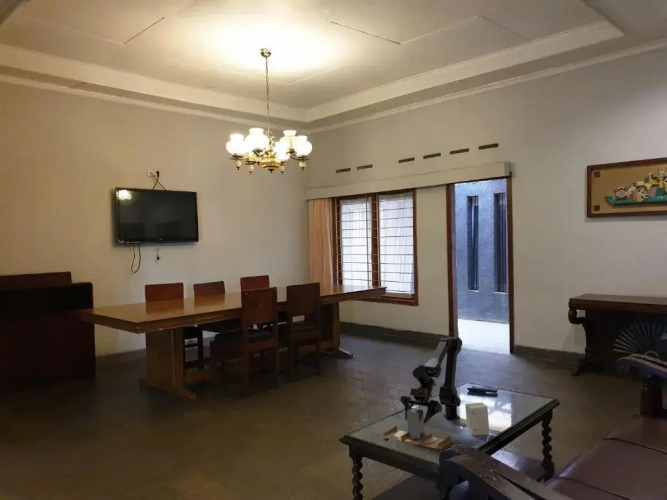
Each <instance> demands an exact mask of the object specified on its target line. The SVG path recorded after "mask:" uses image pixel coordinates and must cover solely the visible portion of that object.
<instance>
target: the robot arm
mask: <svg viewBox="0 0 667 500" xmlns="http://www.w3.org/2000/svg"><path fill="white" fill-rule="evenodd" d="M438 342H439V343H438V344H437V347H436V349H435V351H434V353H433V354H432V357H431V359H429V360H428V361H426V363H425V364H424V365H423V364H419V365H418V366H417V367H415V369H413V371H412V376H413V377H414V379H415V380H416V381H417V383H418V384H420V385H419V387H417V388H413V387H410V391H409V392H410V393H409V395H401V396H400V399H399V402H401V404H403V406H404V420H406V421H407V410H409V409H411V408H413V407H414V405H416V406H420V407H426V408H427V409H426V413H425V416H424V425H426V423H428V422H429V421H430V419H432V418H433V417H434V416H435V415H436V414H439V413H442V411H443V406H444V414H443V415H442V416H443V417H444V418H445V419H446V420H457V419H461V417H460V416H459V415H458V408H457V407H460V406H461V403H462V400H461V398H460V397H459V396H458V390H457V388H456V385H455V381H456V374H457V373H456V372H457V371H456V369H457V359H458V355H459V354H460V352H461V350H462V347H463V340H462V339H461V337H458V336H446V337H442V338H440V339H439V341H438ZM445 356H446V361H445V370H444V371H445V373H444V382H443V384H442V385H441V386H440V387H439V392H438V399H439V400H434V399H430V398H432V396H433V395H432V392H433V389H434V386H435V387H436V386H437V383H436V381H435V379H438V378H439V377H440V375H441V374H442V370H443V369H442V363H443V361H444V359H445ZM434 378H435V379H434ZM410 396H411V397H410ZM412 397H413V399H412Z"/></svg>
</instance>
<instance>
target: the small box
mask: <svg viewBox="0 0 667 500" xmlns="http://www.w3.org/2000/svg"><path fill="white" fill-rule="evenodd" d="M488 409H489V407H488V405H486V404H485V403H483V402H473V403H465V416H466V417H465V418H466V419H465V420H466V430H467V432H468V433H469V434H470V435H471V436H481V435H487V437H488V436H489V437H490V425H489V424H490V423H489V421H490V420H489V410H488Z"/></svg>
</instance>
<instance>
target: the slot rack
mask: <svg viewBox="0 0 667 500" xmlns="http://www.w3.org/2000/svg"><path fill="white" fill-rule="evenodd" d="M393 432H394V433H395V434H394V436H396V437H398V439H397V440H396V441H401V442H405V443H410V444H415V445H419V446H424V447H427V448H432V449H436V450H442V449H443V448H445V447H446V446H447V445H448V444H450V443H451V442H452V439H451V438H452V437H451V435H448V436H447V437H445V438H444V439H443V438H439V437H434V436H433V432H432V431H430V432H428V433H427V434H425V436H424V437H422V438H421V439H420V440H419V441H415V440H410V439H409V438H408V431H406V430H405V431H404V430H402V429H401V430H400V429H398V426H397V424H395V425H393V426H391V427H390V428H389V429H387V430H385V431H384V432H383V437H384V436H387V435H389V434H391V433H393Z"/></svg>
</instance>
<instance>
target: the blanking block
mask: <svg viewBox="0 0 667 500" xmlns="http://www.w3.org/2000/svg"><path fill="white" fill-rule="evenodd" d="M424 419H425V416H424V410H423V409H420V408H419V409H418V408H413V407H412V408H411V409H409V410H407V420H406V421H407V432H408V438H409V439H410V440H415V441H419V440H420V439H421V438H422V437H424V436H425V435H426V432H425V431H426V430H425V424H424Z"/></svg>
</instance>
